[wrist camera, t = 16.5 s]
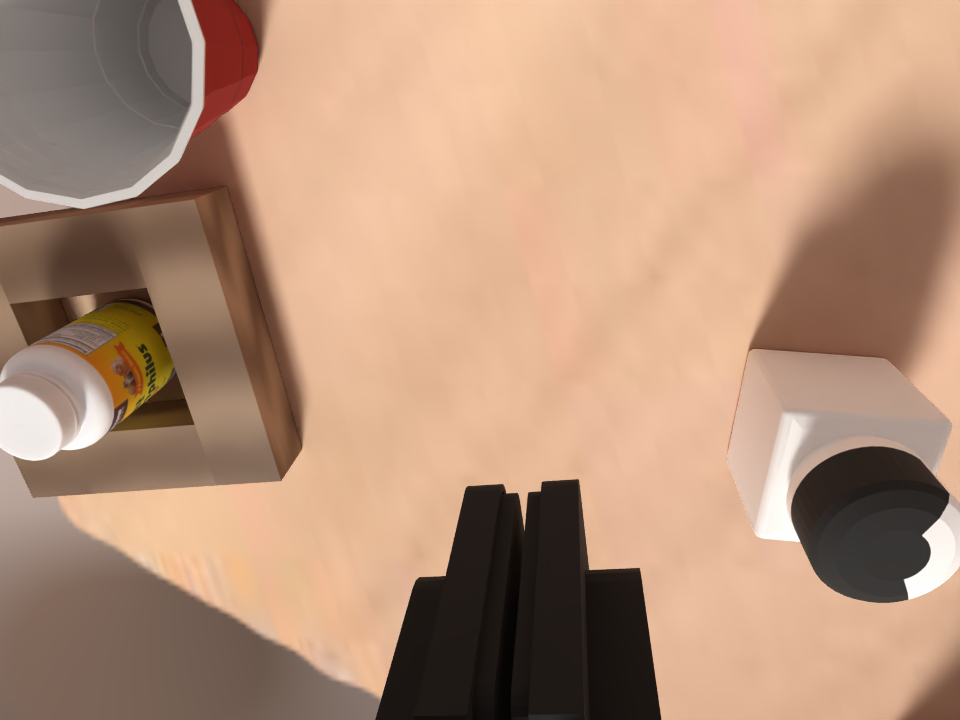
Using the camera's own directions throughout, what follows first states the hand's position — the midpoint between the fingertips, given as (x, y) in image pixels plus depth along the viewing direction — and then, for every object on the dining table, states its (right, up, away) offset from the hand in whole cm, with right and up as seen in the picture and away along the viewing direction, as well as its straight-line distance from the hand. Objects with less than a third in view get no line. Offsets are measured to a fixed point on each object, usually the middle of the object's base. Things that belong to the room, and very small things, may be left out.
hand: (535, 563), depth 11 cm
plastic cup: (-14, +18, +24) cm, 33 cm away
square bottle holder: (-21, +4, +31) cm, 37 cm away
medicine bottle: (+17, 0, +28) cm, 33 cm away
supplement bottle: (-21, +4, +31) cm, 37 cm away
